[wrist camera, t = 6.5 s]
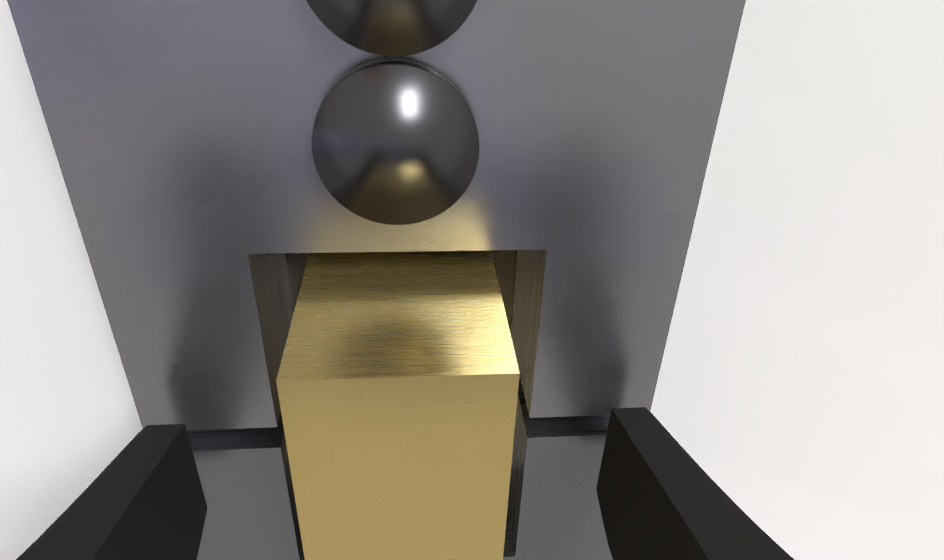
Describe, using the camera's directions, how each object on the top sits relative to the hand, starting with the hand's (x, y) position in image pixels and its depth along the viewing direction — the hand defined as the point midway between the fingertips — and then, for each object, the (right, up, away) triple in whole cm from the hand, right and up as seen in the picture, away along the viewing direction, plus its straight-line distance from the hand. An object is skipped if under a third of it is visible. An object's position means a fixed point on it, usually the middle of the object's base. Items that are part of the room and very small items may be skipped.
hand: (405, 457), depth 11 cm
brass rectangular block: (0, +2, +3) cm, 3 cm away
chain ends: (0, +2, +3) cm, 3 cm away
